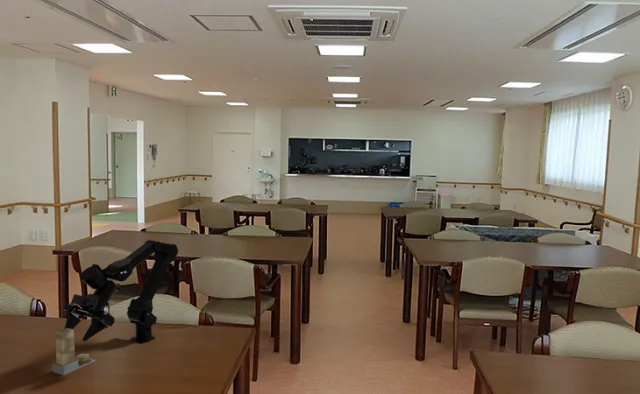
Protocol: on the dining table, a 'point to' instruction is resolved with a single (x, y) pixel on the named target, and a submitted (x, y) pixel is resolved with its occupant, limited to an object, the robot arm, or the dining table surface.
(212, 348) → the dining table surface
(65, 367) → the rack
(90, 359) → the offcut low
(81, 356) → the offcut top
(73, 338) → the tan wooden block
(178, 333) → the dining table surface
